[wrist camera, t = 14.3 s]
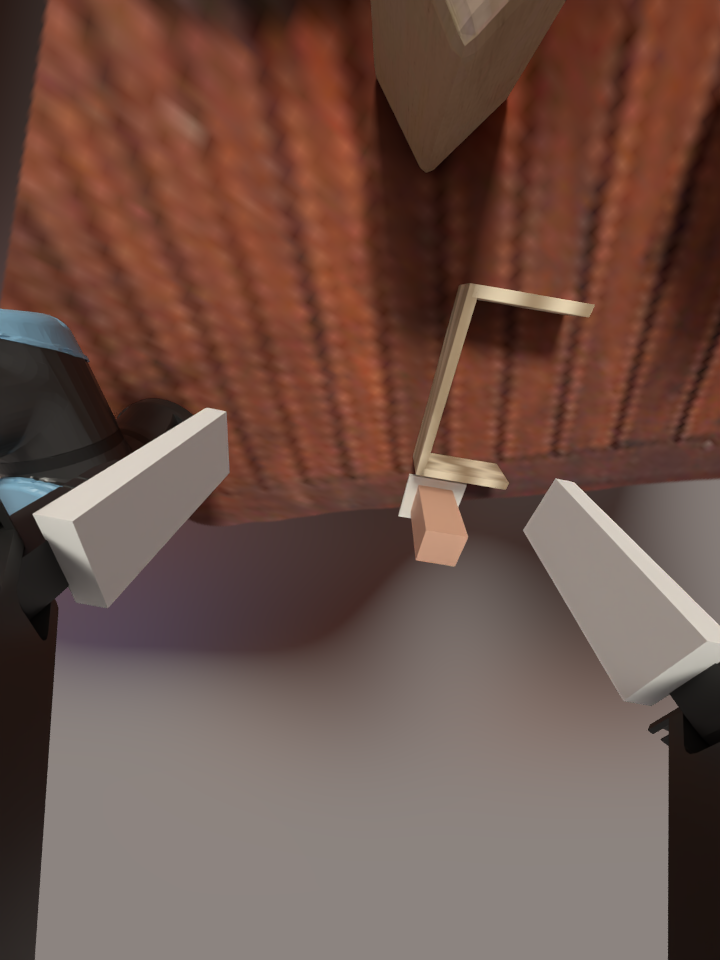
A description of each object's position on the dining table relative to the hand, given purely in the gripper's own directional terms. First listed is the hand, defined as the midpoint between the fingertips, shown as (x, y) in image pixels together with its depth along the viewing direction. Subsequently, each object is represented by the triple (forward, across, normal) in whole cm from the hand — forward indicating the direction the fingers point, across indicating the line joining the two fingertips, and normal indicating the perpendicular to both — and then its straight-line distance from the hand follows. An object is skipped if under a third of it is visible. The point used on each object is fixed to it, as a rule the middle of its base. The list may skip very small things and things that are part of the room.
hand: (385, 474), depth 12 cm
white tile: (+35, +14, -23) cm, 44 cm away
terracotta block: (+34, +14, -23) cm, 44 cm away
